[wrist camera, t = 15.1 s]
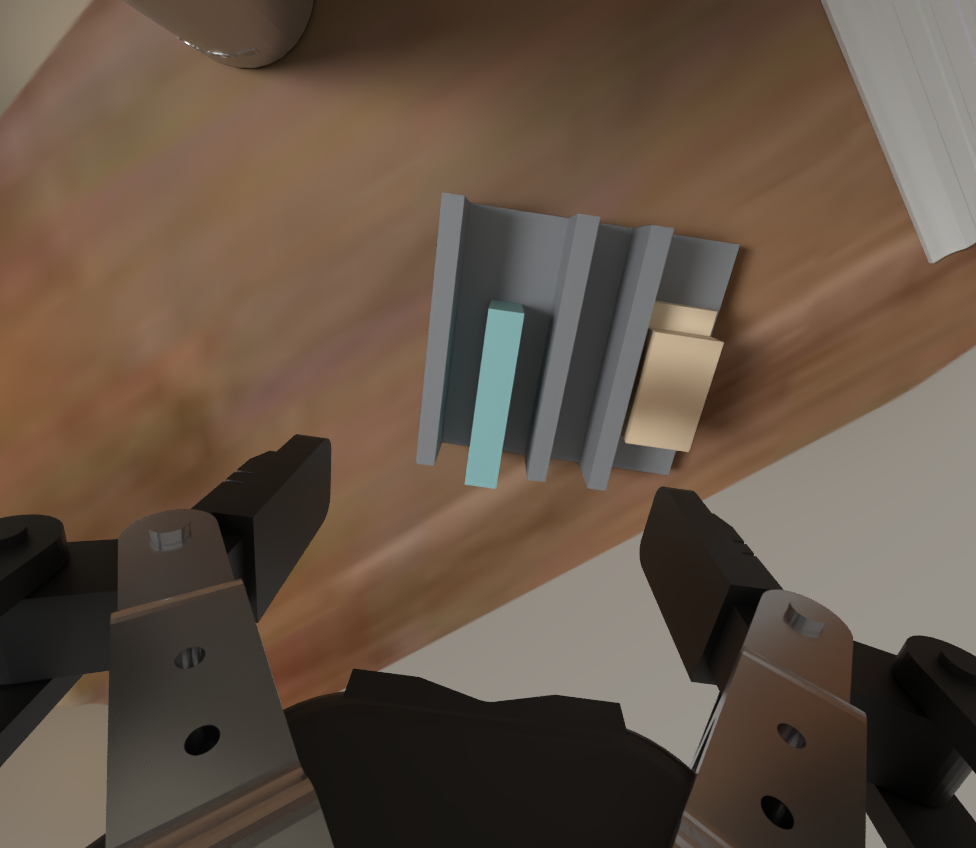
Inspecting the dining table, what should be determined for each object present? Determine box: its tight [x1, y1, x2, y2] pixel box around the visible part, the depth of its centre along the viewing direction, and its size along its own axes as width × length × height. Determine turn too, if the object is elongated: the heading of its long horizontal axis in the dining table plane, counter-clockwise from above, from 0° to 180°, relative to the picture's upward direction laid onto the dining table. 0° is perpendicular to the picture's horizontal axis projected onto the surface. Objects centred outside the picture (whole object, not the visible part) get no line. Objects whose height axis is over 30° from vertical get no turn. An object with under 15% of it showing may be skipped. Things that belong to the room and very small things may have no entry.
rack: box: [416, 192, 740, 491], centre depth 30 cm, size 16×18×6 cm
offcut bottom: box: [648, 301, 717, 336], centre depth 31 cm, size 8×4×2 cm, turn 172°
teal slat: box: [465, 300, 524, 489], centre depth 30 cm, size 5×2×11 cm
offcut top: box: [621, 327, 724, 452], centre depth 29 cm, size 7×4×2 cm, turn 172°
